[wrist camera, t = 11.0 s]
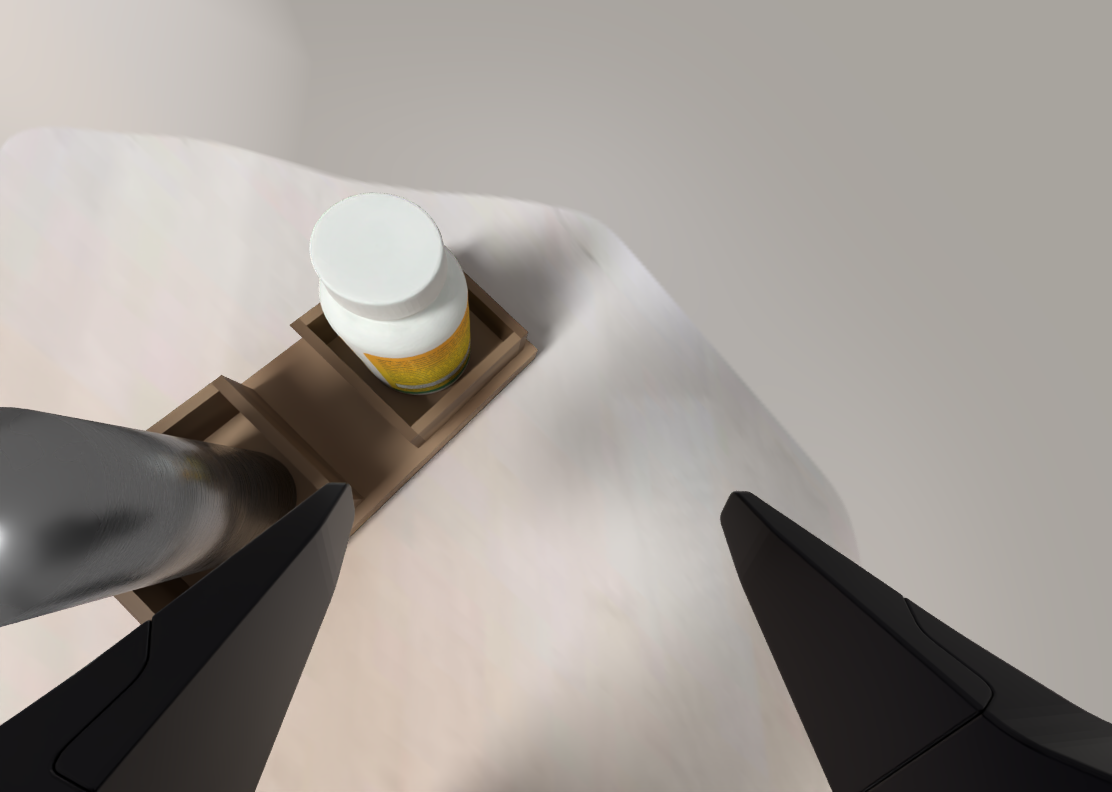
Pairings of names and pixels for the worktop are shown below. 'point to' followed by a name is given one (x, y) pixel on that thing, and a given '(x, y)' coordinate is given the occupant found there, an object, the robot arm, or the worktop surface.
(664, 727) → the worktop surface
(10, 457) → the graphite billet
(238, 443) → the wooden compartment tray
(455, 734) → the worktop surface
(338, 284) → the supplement bottle
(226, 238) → the worktop surface
